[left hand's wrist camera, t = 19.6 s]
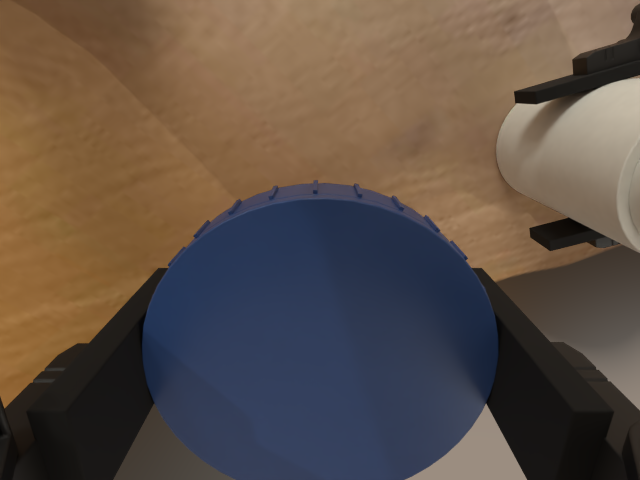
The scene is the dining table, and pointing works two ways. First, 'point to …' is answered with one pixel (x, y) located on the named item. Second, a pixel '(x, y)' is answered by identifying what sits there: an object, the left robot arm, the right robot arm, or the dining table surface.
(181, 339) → the lid
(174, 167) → the dining table surface
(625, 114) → the jar
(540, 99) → the right robot arm
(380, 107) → the dining table surface
